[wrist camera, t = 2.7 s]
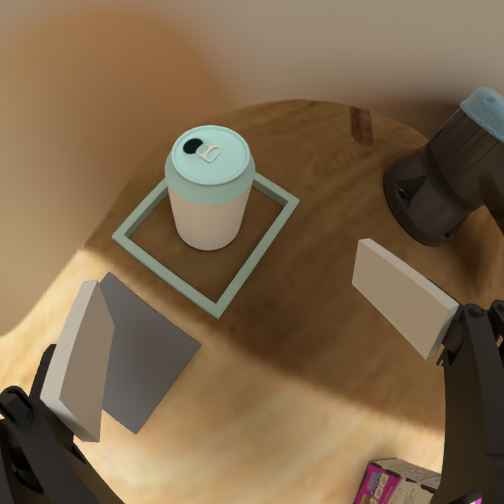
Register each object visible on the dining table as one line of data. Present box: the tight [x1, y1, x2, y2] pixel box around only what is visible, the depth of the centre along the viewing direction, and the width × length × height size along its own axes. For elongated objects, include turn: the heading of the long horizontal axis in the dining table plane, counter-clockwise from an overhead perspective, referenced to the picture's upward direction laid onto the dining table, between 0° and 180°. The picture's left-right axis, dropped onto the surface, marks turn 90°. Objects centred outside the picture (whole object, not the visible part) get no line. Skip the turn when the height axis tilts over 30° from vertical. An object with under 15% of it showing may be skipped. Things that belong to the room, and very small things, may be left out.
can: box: [165, 125, 255, 250], centre depth 24 cm, size 7×7×12 cm
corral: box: [112, 172, 300, 320], centre depth 29 cm, size 16×14×2 cm
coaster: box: [99, 272, 201, 434], centre depth 23 cm, size 12×12×1 cm
